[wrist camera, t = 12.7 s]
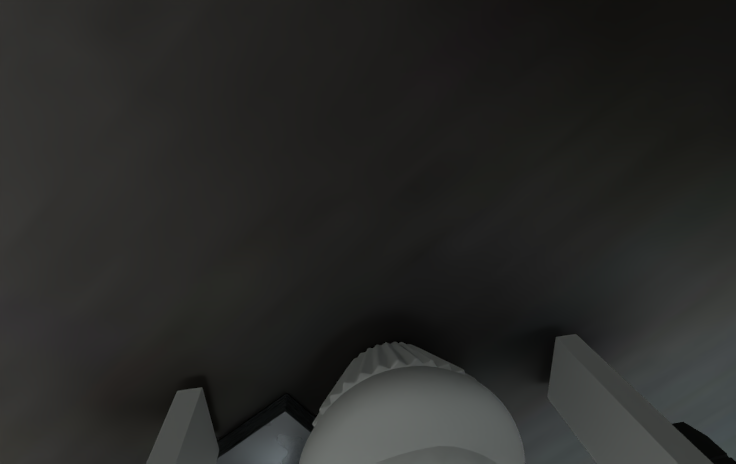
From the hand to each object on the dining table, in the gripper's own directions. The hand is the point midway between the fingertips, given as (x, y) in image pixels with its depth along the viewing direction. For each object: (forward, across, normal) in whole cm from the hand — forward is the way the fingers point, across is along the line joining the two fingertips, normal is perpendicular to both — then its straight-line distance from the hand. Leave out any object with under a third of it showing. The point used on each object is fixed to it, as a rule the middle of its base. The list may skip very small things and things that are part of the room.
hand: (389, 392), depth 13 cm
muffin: (+1, 0, 0) cm, 1 cm away
